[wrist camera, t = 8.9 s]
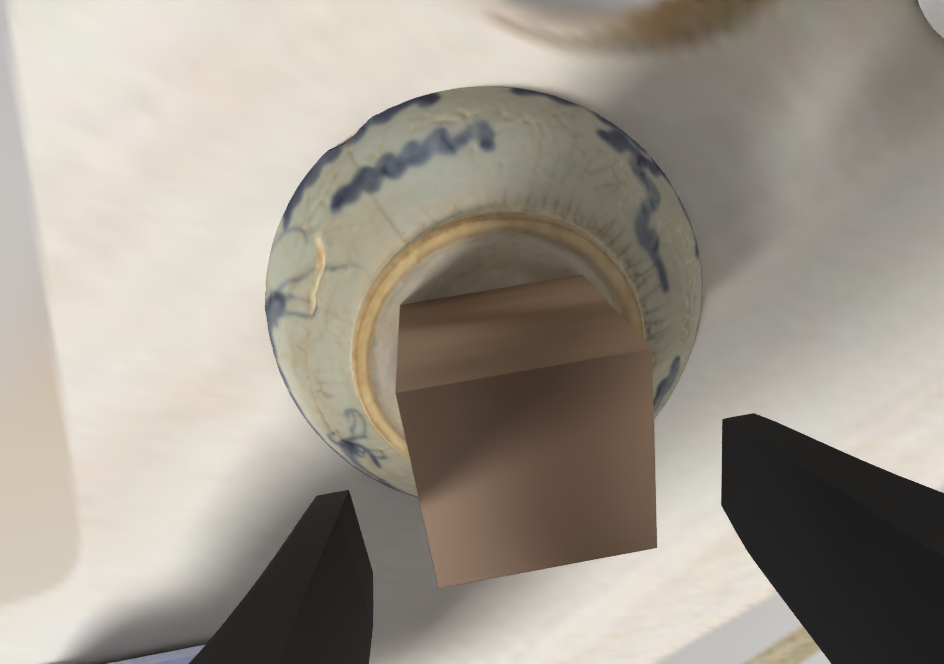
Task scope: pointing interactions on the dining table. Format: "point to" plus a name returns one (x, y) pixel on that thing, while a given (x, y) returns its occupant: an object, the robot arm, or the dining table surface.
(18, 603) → the dining table surface
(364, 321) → the decorative bowl
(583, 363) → the walnut block
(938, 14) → the can
